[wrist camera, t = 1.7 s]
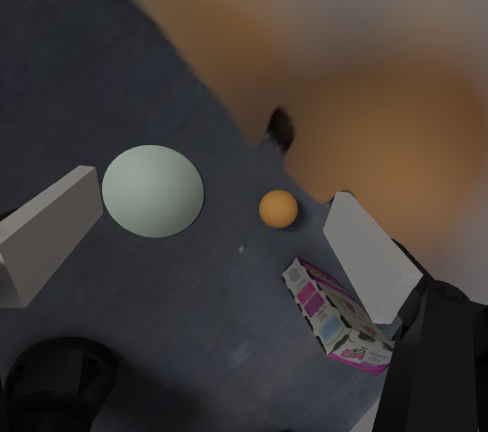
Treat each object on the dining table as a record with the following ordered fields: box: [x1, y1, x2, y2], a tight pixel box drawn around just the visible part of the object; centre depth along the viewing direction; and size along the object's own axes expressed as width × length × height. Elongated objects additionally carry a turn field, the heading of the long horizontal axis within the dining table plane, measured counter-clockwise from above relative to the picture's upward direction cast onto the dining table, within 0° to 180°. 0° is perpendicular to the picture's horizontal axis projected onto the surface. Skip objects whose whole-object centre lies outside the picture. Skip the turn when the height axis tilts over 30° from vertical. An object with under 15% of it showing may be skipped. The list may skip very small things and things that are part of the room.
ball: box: [259, 190, 298, 228], centre depth 37 cm, size 6×6×6 cm
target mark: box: [102, 145, 204, 238], centre depth 35 cm, size 13×13×1 cm
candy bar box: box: [281, 257, 394, 376], centre depth 40 cm, size 11×5×16 cm, turn 53°
